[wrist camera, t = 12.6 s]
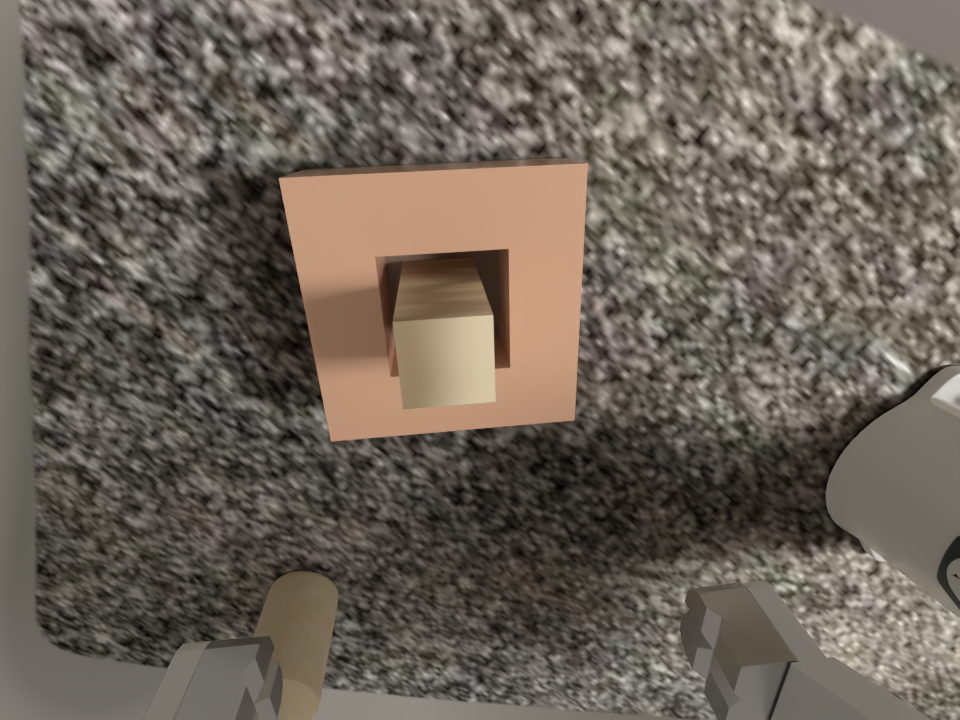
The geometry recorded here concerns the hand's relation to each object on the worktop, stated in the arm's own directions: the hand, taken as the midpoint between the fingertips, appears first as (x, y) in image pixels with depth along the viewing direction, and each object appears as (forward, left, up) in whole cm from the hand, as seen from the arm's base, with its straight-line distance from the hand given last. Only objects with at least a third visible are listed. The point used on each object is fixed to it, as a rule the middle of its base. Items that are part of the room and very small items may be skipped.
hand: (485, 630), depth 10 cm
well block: (0, 0, -23) cm, 23 cm away
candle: (+13, +25, -23) cm, 36 cm away
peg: (0, 0, -22) cm, 22 cm away
